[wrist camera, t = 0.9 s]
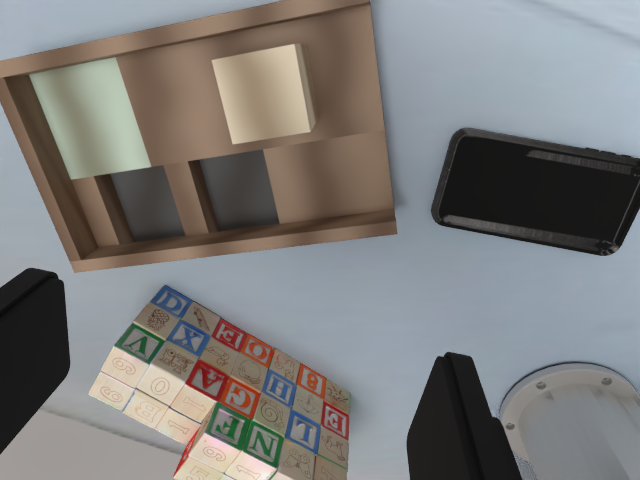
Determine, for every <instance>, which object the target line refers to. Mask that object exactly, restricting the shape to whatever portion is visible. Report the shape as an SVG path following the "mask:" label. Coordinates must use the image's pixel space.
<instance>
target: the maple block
mask: <svg viewBox="0 0 640 480" xmlns="http://www.w3.org/2000/svg"><path fill="white" fill-rule="evenodd" d="M212 64H213V68H214V72H215V76H216V80H217V84H218V88H219V92H220V96H221V100H222V104H223V108H224V112H225V116H226V120H227V124H228V128H229V132H230V136H231V140H232V144H239V143H245V142H251V141H257V140H264V139H270V138H276V137H282V136H288V135H294V134H301V133H307V132H311V130H312V129H313V127H314V126H315V124H316V123H317V121H318V120H319V117H318V111H317V105H316V99H315V94H314V88H313V82H312V76H311V70H310V65H309V59H308V53H307V47H306V43H305V44H291V45H286V46H281V47H276V48H271V49H266V50H261V51H256V52H250V53H245V54H240V55H235V56H230V57H225V58H220V59H215V60H212Z"/></svg>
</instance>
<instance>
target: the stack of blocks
mask: <svg viewBox="0 0 640 480" xmlns="http://www.w3.org/2000/svg"><path fill="white" fill-rule="evenodd" d="M89 395H90V396H91V397H94V398H96V399H98V400H100V401H102V402H104V403H106V404H108V405H110V406H111V407H113V408H115V409H117V410H121V411H122V412H123V413H124V414H126V415H127V416H129V417H131V418H133V419H135V420H137V421H139V422H141V423H143V424H145V425H147V426H149V427H151V428H154V429H155V430H157V431H158V432H160V433H162V434H164V435H166V436H168V437H170V438H172V439H174V440H176V441H178V442H180V443H183V444H188V445H187V446H186V448H185V450H184V453H183V455H182V458H181V460H180V462H179V464H178V467H177V469H176V472H175V474H174V476H173V478H174V479H176V480H347V471H348V452H349V443H348V437H349V414H350V393H349V392H348V391H346V390H344V389H343V388H341V387H339V386H337V385H336V384H334V383H332V382H331V381H329V380H327V379H326V378H325V377H324V376H322V375H320V374H319V373H317V372H315V371H313V370H312V369H310V368H308V367H307V366H305V365H303V364H301V363H300V362H298V361H296V360H295V359H293V358H292V357H290V356H288V355H286V354H285V353H283V352H281V351H280V350H278V349H274V348H272V347H271V346H269V345H267V344H265V343H263V342H262V341H260V340H258V339H257V338H255V337H253V336H251V335H250V334H247V333H245V332H244V331H242V330H240V329H239V328H237V327H235V326H234V325H231V324H230V323H228V322H227V321H225V320H223V319H220V317H219V316H218V315H216V314H214V313H212V312H211V311H209V310H207V309H206V308H204V307H202V306H200V305H199V304H197V303H195V302H193V301H191V300H190V299H188V298H187V297H185V296H183V295H182V294H180V293H178V292H176V291H174V290H173V289H171V288H169V287H167V286H163V287H162V288H161V290H160V291H159V292H158V293H157V294H156V295H155V297H154V298H153V299H152V300H151V301H150V303H148V304H147V305H146V307H145V308H144V309H143V310H142V311H141V313H140V314H139V315H138V316H137V317H136V319H135V320H134V321H133V323H132V324H131V325H130V326H129V328H128V329H127V330H126V331H125V333H124V334H123V335H122V336H121V338H120V339H119V340H118V341H117V342H116V344H115V345H114V347H113V348H112V350H111V352H110V354H109V356H108V358H107V360H106V361H105V363H104V365H103V367H102V369H101V372H100V374H99V375H98V377H97V379H96V381H95V383H94V385H93V386H92V388H91V390H90V392H89Z"/></svg>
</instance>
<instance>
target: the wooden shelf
mask: <svg viewBox="0 0 640 480" xmlns="http://www.w3.org/2000/svg"><path fill="white" fill-rule="evenodd" d="M305 43H306V47H307V53H308V59H309V65H310V70H311V76H312V82H313V88H314V94H315V99H316V105H317V111H318V117H319V120H318V121H317V123H316V124H315V126H314V127H313V129H312V130H311V132H307V133H301V134H294V135H288V136H282V137H276V138H270V139H264V140H257V141H251V142H245V143H239V144H232V140H231V136H230V132H229V128H228V124H227V120H226V116H225V112H224V108H223V104H222V100H221V96H220V92H219V88H218V84H217V80H216V76H215V72H214V68H213V64H212V60H215V59H220V58H225V57H230V56H235V55H240V54H245V53H250V52H256V51H261V50H266V49H271V48H276V47H281V46H286V45H291V44H305ZM0 103H1V105H2V107H3V109H4V112H5V114H6V116H7V119H8V121H9V123H10V125H11V128H12V130H13V132H14V135H15V137H16V139H17V142H18V144H19V146H20V148H21V151H22V153H23V155H24V158H25V160H26V162H27V164H28V167H29V169H30V171H31V174H32V176H33V178H34V181H35V183H36V185H37V187H38V190H39V192H40V194H41V197H42V199H43V201H44V203H45V206H46V208H47V210H48V213H49V215H50V217H51V220H52V222H53V224H54V226H55V229H56V231H57V233H58V236H59V238H60V240H61V242H62V245H63V247H64V249H65V252H66V254H67V256H68V259H69V261H70V263H71V265H72V268H73V270H74V272H75V273H77V272H85V271H93V270H102V269H110V268H118V267H127V266H135V265H143V264H152V263H160V262H168V261H177V260H185V259H193V258H202V257H210V256H218V255H227V254H235V253H243V252H252V251H260V250H268V249H277V248H285V247H293V246H302V245H310V244H318V243H327V242H335V241H343V240H352V239H360V238H368V237H377V236H385V235H393V234H397V227H396V219H395V212H394V204H393V195H392V187H391V178H390V170H389V161H388V153H387V144H386V136H385V128H384V119H383V111H382V102H381V94H380V85H379V77H378V68H377V60H376V51H375V43H374V34H373V26H372V18H371V9H370V0H284V1H279V2H275V3H270V4H265V5H260V6H256V7H251V8H246V9H242V10H237V11H232V12H228V13H223V14H218V15H213V16H209V17H204V18H199V19H195V20H190V21H185V22H181V23H176V24H171V25H167V26H162V27H157V28H152V29H148V30H143V31H138V32H134V33H129V34H124V35H120V36H115V37H110V38H105V39H101V40H96V41H91V42H87V43H82V44H77V45H73V46H68V47H63V48H58V49H54V50H49V51H44V52H40V53H35V54H30V55H26V56H21V57H16V58H11V59H7V60H2V61H0Z"/></svg>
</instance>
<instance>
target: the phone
mask: <svg viewBox="0 0 640 480" xmlns="http://www.w3.org/2000/svg"><path fill="white" fill-rule="evenodd" d="M448 149H449V150H447V154H446V157H445V161H444V165H443V168H442V172H441V175H440V179H439V182H438V186H437V189H436V193H435V196H434V200H433V203H432V207H431V213H432V216H433V219H434V220H435V222H436V223H438V224H439V225H442V226H446V227H451V228H456V229H462V230H467V231H472V232H478V233H483V234H488V235H494V236H499V237H504V238H510V239H515V240H520V241H526V242H531V243H536V244H541V245H547V246H552V247H557V248H563V249H568V250H573V251H579V252H584V253H589V254H595V255H600V256H607V255H611V254H613V253H615V252H616V251H617V250H618V249H619V248H620V247H621V245H622V243H623V241H624V239H625V237H626V235H627V233H628V231H629V229H630V227H631V225H632V223H633V221H634V219H635V217H636V215H637V213H638V211H639V209H640V159H638V158H632V157H631V156H626V155H622V156H621V155H616V154H615V153H611V152H605V151H602V152H600V151H599V150H596V149H590V148H586V149H583V148H578V147H572V146H567V145H561V144H556V143H550V142H545V141H539V140H534V139H528V138H523V137H517V136H512V135H506V134H501V133H495V132H490V131H484V130H479V129H473V128H463V129H460V130H458V131H457V132H455V134H454V135H453V136H452V138H451V140H450V143H449V147H448Z"/></svg>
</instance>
